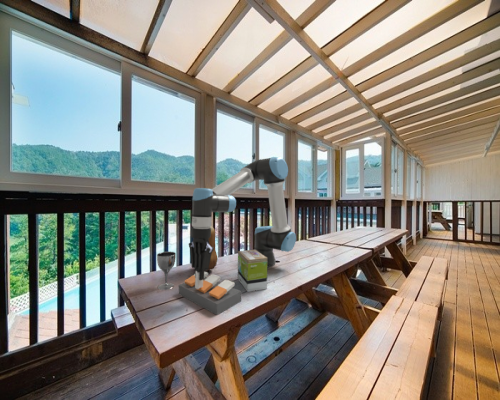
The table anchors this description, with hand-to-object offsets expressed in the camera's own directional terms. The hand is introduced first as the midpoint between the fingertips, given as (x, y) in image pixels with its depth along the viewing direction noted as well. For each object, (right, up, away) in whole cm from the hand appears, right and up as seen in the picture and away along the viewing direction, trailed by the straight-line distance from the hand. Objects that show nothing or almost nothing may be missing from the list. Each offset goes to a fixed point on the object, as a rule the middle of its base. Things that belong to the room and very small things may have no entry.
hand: (199, 287), depth 82 cm
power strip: (+6, -6, +7) cm, 11 cm away
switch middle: (+3, -1, +4) cm, 5 cm away
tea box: (+21, -6, +18) cm, 28 cm away
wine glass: (-19, -6, +14) cm, 24 cm away
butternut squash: (-5, -5, +34) cm, 35 cm away
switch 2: (+9, -1, -1) cm, 10 cm away
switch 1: (-3, -1, +9) cm, 10 cm away
